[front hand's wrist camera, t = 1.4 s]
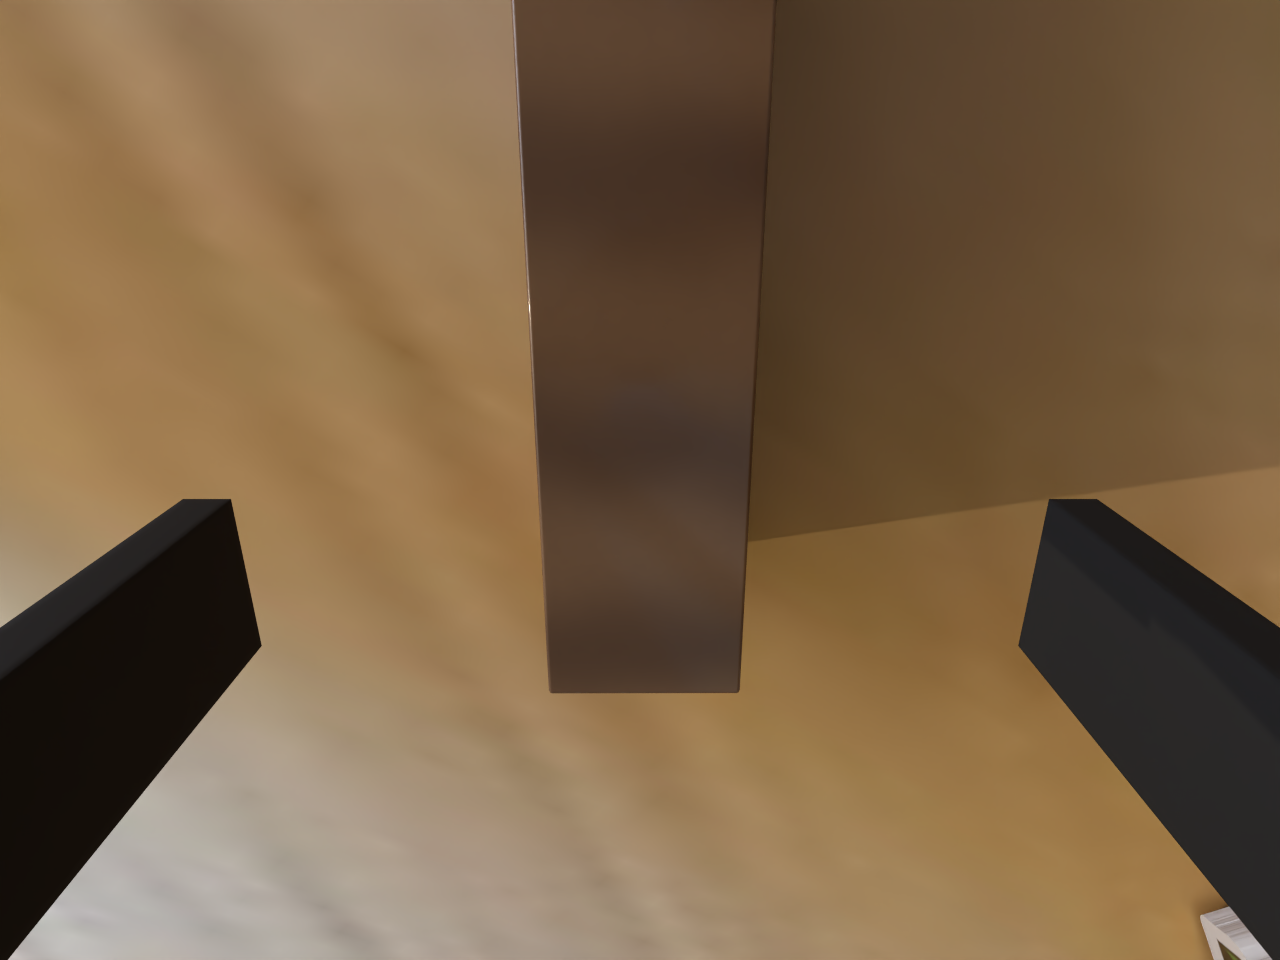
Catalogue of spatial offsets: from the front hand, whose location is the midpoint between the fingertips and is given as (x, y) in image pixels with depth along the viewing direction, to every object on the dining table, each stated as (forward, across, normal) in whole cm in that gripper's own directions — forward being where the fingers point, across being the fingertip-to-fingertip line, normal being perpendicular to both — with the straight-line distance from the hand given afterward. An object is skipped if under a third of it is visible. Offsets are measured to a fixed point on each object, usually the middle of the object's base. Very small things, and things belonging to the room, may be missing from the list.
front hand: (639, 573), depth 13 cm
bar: (+13, 0, -28) cm, 31 cm away
